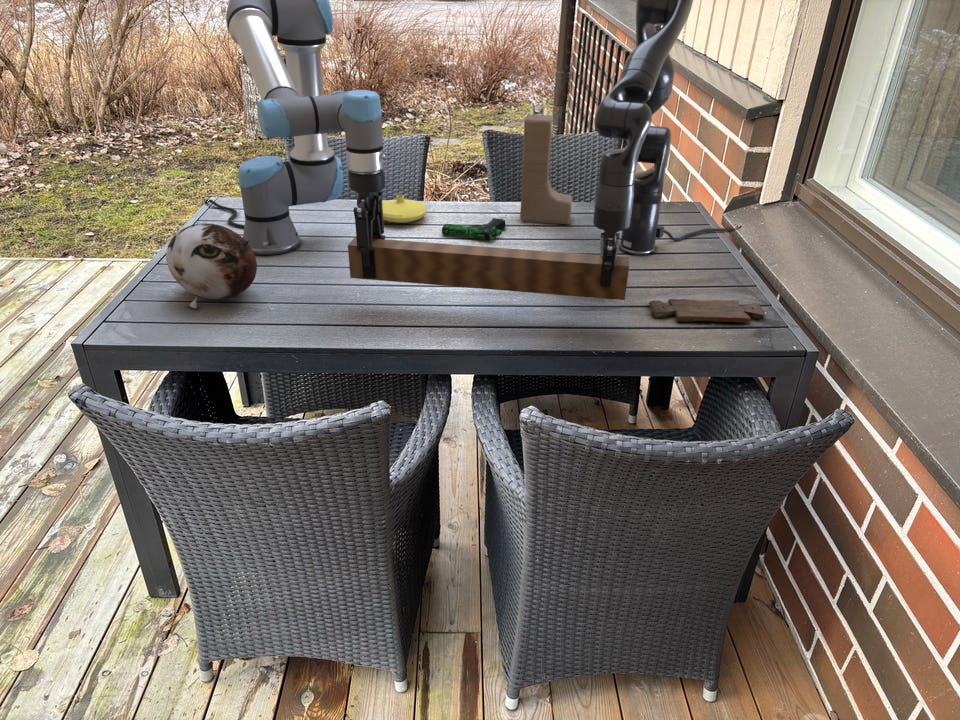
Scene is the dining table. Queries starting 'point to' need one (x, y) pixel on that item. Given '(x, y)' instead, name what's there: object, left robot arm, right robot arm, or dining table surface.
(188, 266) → the cat face balloon
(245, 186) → the left robot arm
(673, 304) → the dark wooden board
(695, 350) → the dining table surface
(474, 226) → the handgun
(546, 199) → the decorative block
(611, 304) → the dining table surface
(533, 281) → the beam
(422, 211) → the yellow round flat dome
